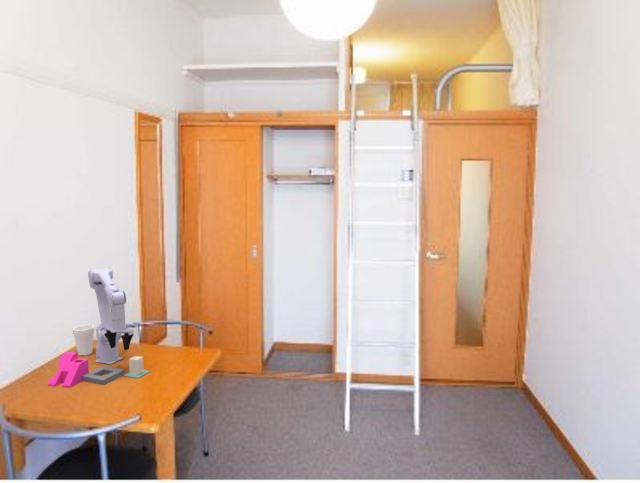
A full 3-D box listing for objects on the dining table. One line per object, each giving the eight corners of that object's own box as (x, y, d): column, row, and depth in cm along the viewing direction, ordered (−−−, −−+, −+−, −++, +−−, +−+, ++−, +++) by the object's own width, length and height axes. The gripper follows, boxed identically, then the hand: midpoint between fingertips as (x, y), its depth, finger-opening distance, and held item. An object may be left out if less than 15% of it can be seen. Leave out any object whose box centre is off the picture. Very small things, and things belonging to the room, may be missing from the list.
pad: (123, 376, 208) (123, 375, 208) (136, 369, 215) (136, 368, 215) (137, 378, 205) (137, 377, 205) (150, 371, 213) (150, 370, 213)
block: (129, 374, 209) (129, 358, 208) (136, 370, 213) (135, 355, 212) (137, 375, 208) (136, 360, 207) (143, 372, 211) (142, 356, 210)
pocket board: (81, 380, 203) (81, 376, 203) (103, 370, 215) (103, 365, 214) (103, 384, 199) (103, 380, 199) (124, 373, 210) (124, 369, 210)
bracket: (68, 374, 210) (66, 352, 209) (89, 376, 208) (87, 353, 207) (47, 386, 198) (46, 362, 197) (69, 388, 196) (67, 364, 195)
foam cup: (70, 354, 234) (68, 328, 232) (87, 348, 242) (86, 323, 240) (82, 358, 229) (80, 331, 228) (99, 352, 237) (98, 326, 235)
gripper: (98, 319, 209) (100, 349, 211) (124, 323, 204) (126, 353, 206) (110, 315, 216) (112, 344, 218) (136, 318, 211) (137, 348, 212)
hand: (119, 348), depth 212 cm, fingers open, 7 cm apart
